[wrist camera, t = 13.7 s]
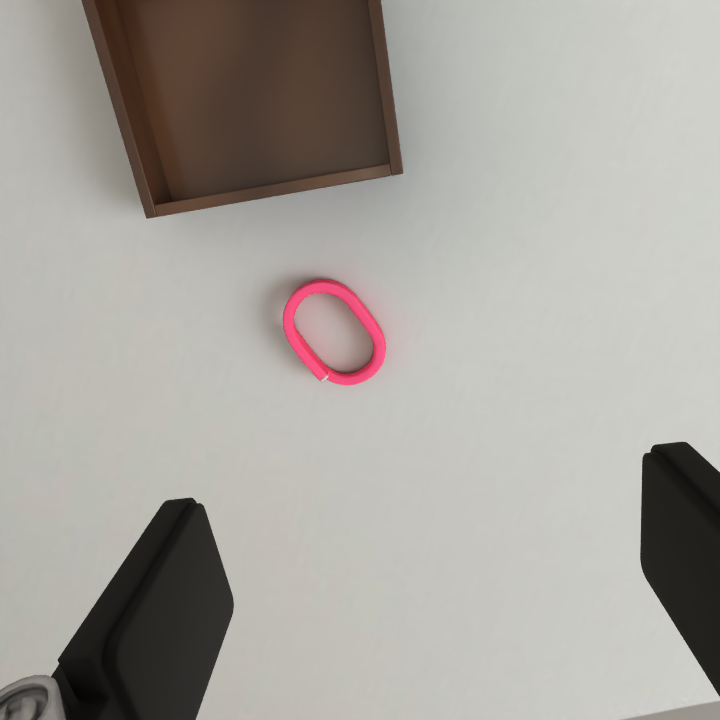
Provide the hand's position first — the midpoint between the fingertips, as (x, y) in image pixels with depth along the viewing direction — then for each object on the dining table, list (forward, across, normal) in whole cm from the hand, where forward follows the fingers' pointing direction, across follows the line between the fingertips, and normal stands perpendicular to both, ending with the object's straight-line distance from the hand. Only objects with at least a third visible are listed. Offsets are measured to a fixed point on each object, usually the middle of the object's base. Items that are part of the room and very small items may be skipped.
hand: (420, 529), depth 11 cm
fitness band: (+26, +5, +3) cm, 27 cm away
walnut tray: (+26, +7, -14) cm, 30 cm away
